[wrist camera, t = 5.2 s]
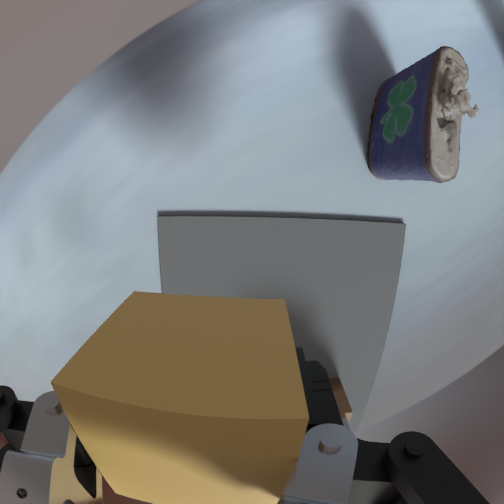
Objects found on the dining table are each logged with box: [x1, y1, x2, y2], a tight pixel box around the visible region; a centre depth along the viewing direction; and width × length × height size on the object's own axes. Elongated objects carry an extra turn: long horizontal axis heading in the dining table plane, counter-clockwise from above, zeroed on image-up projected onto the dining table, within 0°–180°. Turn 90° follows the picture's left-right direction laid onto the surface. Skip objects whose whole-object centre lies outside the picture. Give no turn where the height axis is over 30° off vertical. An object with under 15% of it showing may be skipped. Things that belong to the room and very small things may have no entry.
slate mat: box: [158, 216, 406, 431], centre depth 24 cm, size 24×20×1 cm
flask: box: [367, 46, 479, 183], centre depth 14 cm, size 9×3×11 cm, turn 166°
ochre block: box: [51, 291, 309, 504], centre depth 7 cm, size 5×5×5 cm
